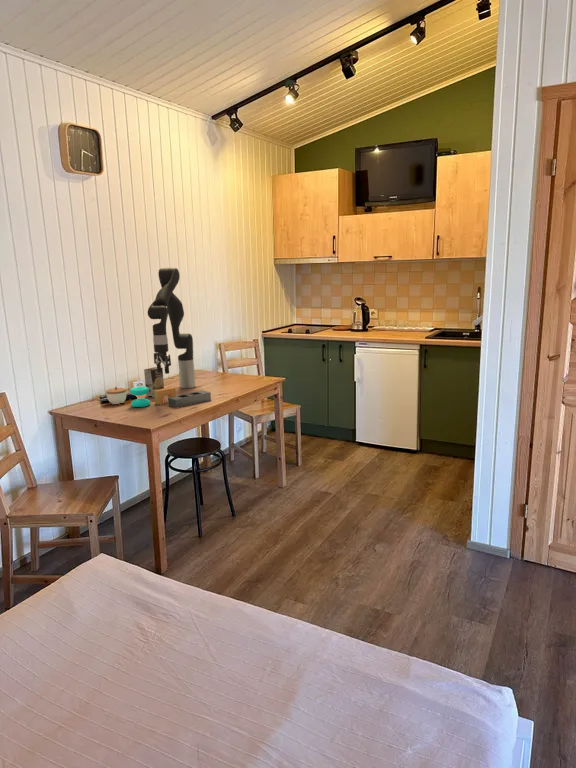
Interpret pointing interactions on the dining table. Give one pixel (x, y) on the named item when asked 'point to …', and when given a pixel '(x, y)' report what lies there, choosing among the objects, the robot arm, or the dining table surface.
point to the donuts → (142, 401)
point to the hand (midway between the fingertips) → (163, 372)
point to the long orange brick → (162, 392)
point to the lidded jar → (116, 395)
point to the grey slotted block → (189, 398)
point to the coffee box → (153, 380)
